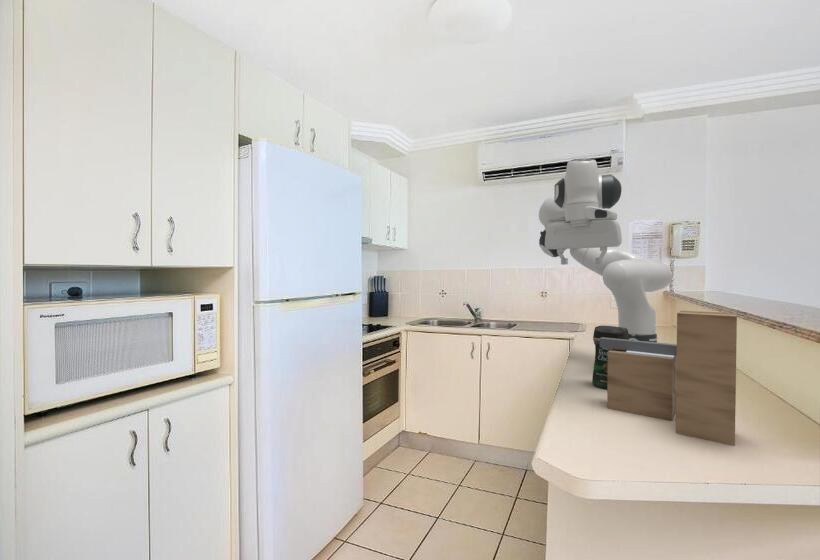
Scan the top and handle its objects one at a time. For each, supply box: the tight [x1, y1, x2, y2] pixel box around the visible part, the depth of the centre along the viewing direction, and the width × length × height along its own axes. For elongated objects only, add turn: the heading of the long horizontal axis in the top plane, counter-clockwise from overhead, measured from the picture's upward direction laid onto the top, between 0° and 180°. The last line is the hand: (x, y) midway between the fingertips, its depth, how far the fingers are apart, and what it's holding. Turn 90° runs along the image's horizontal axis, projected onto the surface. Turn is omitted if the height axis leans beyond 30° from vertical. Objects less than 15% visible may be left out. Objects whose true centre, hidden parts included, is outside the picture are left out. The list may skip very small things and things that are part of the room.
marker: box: [593, 337, 677, 356], centre depth 101 cm, size 3×24×3 cm, turn 51°
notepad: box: [626, 350, 675, 359], centre depth 100 cm, size 7×10×1 cm
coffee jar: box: [591, 325, 629, 390], centre depth 122 cm, size 10×8×19 cm
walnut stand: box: [606, 310, 738, 446], centre depth 95 cm, size 16×26×26 cm, turn 51°
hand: (581, 264), depth 114 cm, fingers open, 8 cm apart
